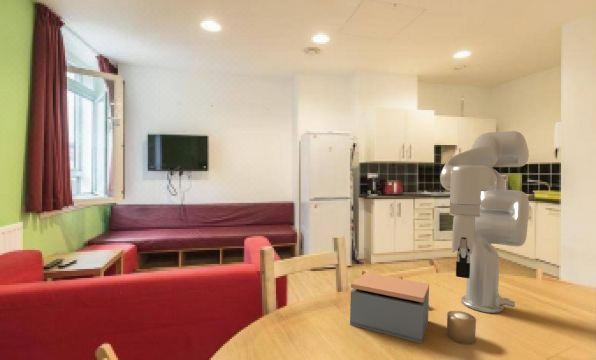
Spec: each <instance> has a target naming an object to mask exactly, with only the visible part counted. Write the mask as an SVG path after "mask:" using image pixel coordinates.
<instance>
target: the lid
mask: <svg viewBox="0 0 596 360" xmlns="http://www.w3.org/2000/svg"><path fill="white" fill-rule="evenodd" d="M350 288H351V289H359V290H364V291H369V292H374V293H379V294H384V295H388V296H393V297H398V298H403V299H408V300H413V301H418V302H424V299H425V297H426V294H427V292H428V289H429V290H430V283H427V282H421V281H416V280H415V281H414V280H409V279H403V278H399V277H398V278H397V277H392V276H387V275H380V274H374V273H370V272H364V273H363V274H362V275H360V276H359V277H358V278H357V279H355V280H354V281H353V282H352V283H350Z"/></svg>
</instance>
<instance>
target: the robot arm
mask: <svg viewBox="0 0 596 360" xmlns="http://www.w3.org/2000/svg"><path fill="white" fill-rule="evenodd" d="M529 156H530V155H529V147H528V143H527V141H526V138H525V136H524V134H522V133H521V132H519V131H517V130H509V131H492V132H484V133H482V134H480V135H478V137H476V139H475V141H474V143H473V144H472V146H471V148H470V149H468V150H465V151H463V152H460V153H458V154H455V155H453V156H451V157H450V158H449V159H448V160H447V161H446V163H445V164H444V166H443V167H442V170H441V172H440V175H439V178H440V179H439V180H440V181H439V182H440V184H441V186H442V188H444V189H445V190H448V191H449V216H453V219H452V232H451V233H452V239H451V252H452V253H455V252H457V253H456V260H455V261H456V263H455V277H458V278H463V279H466V287H465V289H466V291H465V294H464V295H463V296H461V298H460V302H461V304H462V305H464V306H465V307H466V308H469V309H472V310H475V311H479V312H482V313H490V314H497V313H498V314H499V313H501V312H503V311H504V306H507V307H512V308H515V307H516V302H515V301H514V300H511V299H510V298H508V297H502V296H501V295H500V292H499V280H500V255H499V253H498V251H497V250H496V248H495V247H494V246H493V245H495V244H496V245H501V246H508V247H521V246H523V245H524V244H525V242H526V240H527V236H528V226H529V225H528V223H529V213H530V212H529V211H530V201H529V197H528V195H527V194H526V193H525V192H523V191H521V190H514V189H506V180H505V178H504V176H503V175H502V174H501V173H500V172H498V171H497V170H496V169H494V168H508V167H509V168H521V167H523V166H525V165H526V164H528V163H527V162H528V161H529ZM492 244H493V245H492Z"/></svg>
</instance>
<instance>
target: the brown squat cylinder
mask: <svg viewBox="0 0 596 360" xmlns="http://www.w3.org/2000/svg"><path fill="white" fill-rule="evenodd" d="M446 316H447V318H446V337H447V338H448V339H449V340H451V341H453V342H455V343H456V344H462V345H467V346H468V345H473V344H475V343H476V330H477V318H476V317H475V316H474V315H473V314H470V313H469V312H465V311H460V310H450V311H448V312H447V315H446Z"/></svg>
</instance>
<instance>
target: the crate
mask: <svg viewBox="0 0 596 360" xmlns="http://www.w3.org/2000/svg"><path fill="white" fill-rule="evenodd" d="M429 303H430V288H429V289H428V292H427V294H426V297H425V299H424V302H418V301H413V300H408V299H403V298H398V297H393V296H388V295H384V294H379V293H374V292H369V291H364V290H359V289H354V288H352V289H351V290H350V306H349V307H350V309H349V325H350V326H353V327H358V328H361V329H365V330H369V331H372V332H377V333H380V334H382V335H383V334H384V335H387V336H392V337H395V338H400V339H403V340H407V341H410V342H414V343H417V344H421V345H422V344H423V341H424V338H425V334H426V330H427V327H428V323H429V308H430V307H429Z"/></svg>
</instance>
